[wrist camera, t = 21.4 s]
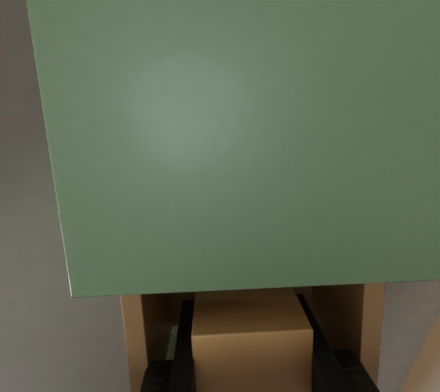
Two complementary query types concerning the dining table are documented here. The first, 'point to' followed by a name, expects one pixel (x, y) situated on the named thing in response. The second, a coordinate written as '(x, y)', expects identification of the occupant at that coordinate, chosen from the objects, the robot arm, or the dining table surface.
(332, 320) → the drawer
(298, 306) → the block
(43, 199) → the dining table surface
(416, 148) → the cabinet
